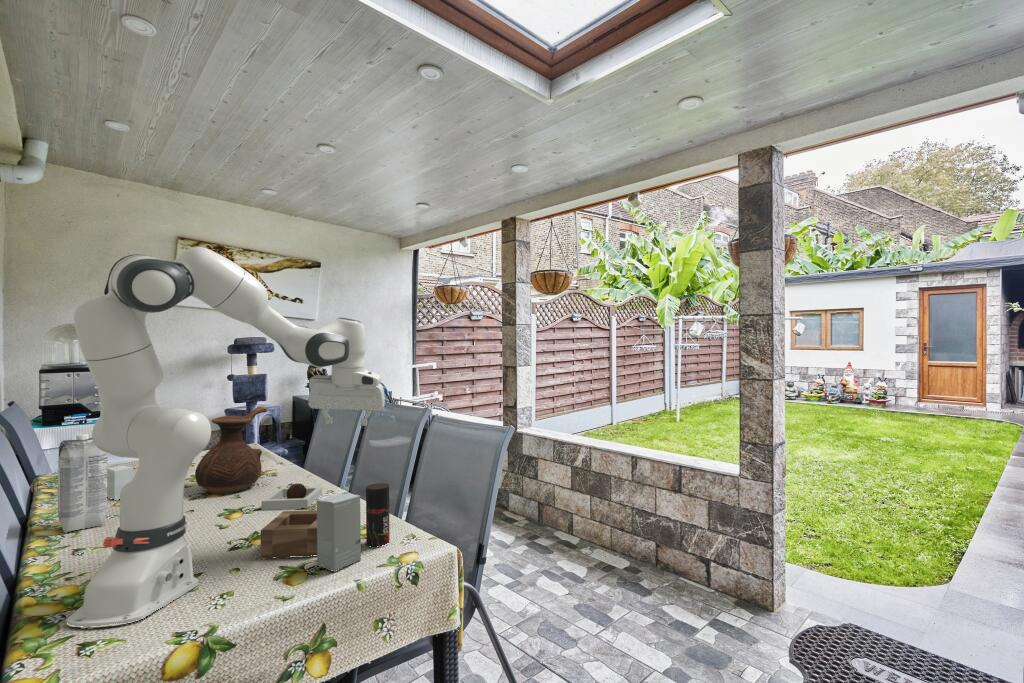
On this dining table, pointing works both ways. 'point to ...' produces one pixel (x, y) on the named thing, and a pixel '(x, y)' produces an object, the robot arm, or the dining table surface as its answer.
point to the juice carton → (81, 484)
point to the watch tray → (278, 504)
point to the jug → (230, 458)
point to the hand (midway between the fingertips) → (346, 424)
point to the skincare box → (338, 531)
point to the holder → (290, 535)
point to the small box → (118, 480)
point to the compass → (296, 491)
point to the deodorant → (377, 514)
